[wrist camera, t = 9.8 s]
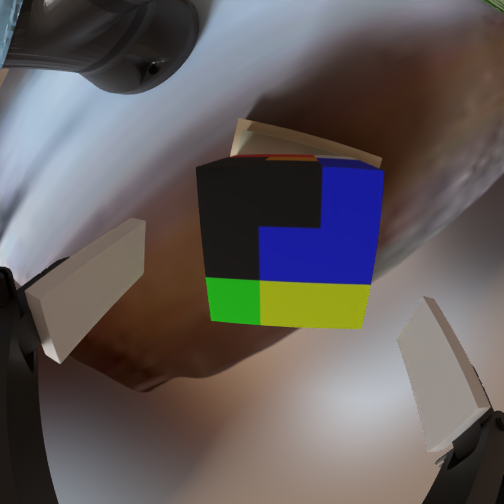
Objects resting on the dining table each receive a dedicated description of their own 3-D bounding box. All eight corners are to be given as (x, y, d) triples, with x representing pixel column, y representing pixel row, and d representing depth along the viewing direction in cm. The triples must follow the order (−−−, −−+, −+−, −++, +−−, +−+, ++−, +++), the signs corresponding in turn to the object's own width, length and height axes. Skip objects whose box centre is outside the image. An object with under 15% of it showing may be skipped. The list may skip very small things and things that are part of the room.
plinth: (244, 120, 27) (233, 116, 22) (374, 156, 26) (388, 159, 21) (219, 240, 33) (206, 258, 28) (335, 272, 32) (340, 294, 27)
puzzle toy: (351, 157, 22) (384, 170, 13) (343, 263, 26) (361, 328, 17) (236, 154, 24) (195, 167, 14) (240, 259, 27) (211, 320, 18)
